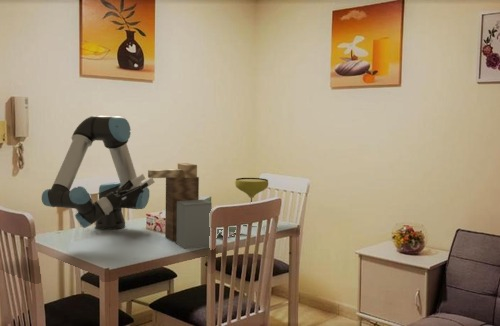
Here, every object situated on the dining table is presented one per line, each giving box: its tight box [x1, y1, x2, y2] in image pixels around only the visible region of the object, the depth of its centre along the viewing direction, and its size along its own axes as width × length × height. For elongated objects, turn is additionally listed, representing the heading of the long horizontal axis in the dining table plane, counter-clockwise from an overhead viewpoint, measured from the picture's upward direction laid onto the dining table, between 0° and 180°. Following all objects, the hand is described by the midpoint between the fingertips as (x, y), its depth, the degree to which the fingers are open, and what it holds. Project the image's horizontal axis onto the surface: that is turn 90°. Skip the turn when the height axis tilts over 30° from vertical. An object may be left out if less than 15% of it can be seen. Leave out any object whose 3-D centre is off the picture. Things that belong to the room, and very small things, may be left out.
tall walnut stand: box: [164, 176, 200, 242], centre depth 264 cm, size 13×10×30 cm
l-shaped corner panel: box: [217, 227, 236, 236], centre depth 272 cm, size 12×12×8 cm
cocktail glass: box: [234, 177, 269, 203], centre depth 299 cm, size 18×18×25 cm
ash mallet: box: [147, 162, 198, 179], centre depth 259 cm, size 22×10×6 cm, turn 119°
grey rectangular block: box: [175, 200, 213, 249], centre depth 251 cm, size 13×10×20 cm
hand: (148, 177), depth 254 cm, fingers open, 13 cm apart
